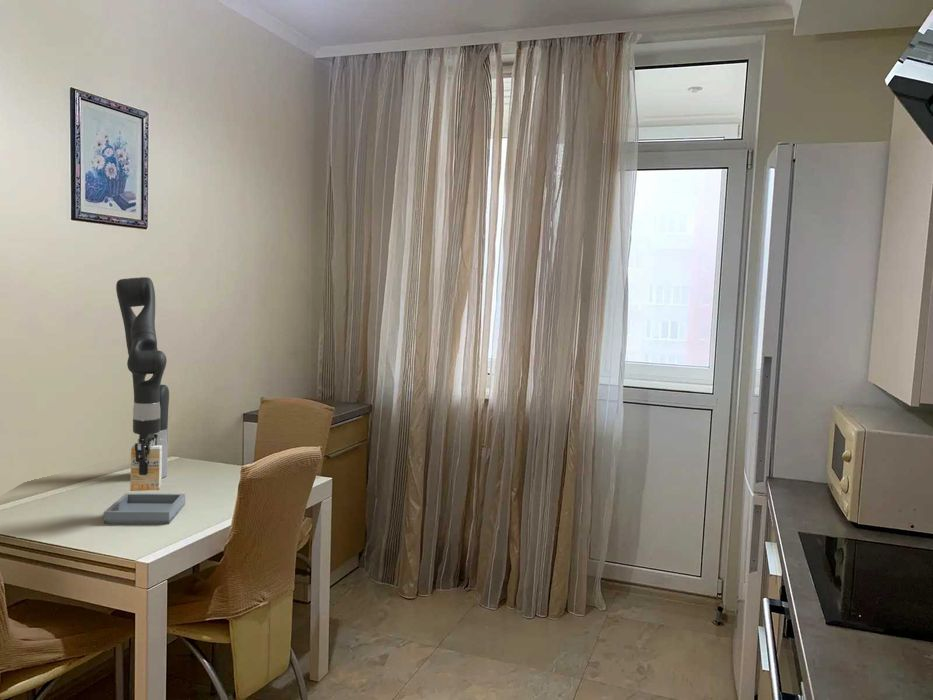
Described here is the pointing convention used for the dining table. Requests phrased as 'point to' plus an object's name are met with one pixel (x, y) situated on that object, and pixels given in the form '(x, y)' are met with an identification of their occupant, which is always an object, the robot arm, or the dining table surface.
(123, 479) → the dining table surface
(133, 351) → the robot arm
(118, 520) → the tray
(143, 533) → the dining table surface
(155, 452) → the supplement box
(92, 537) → the dining table surface
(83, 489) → the dining table surface
